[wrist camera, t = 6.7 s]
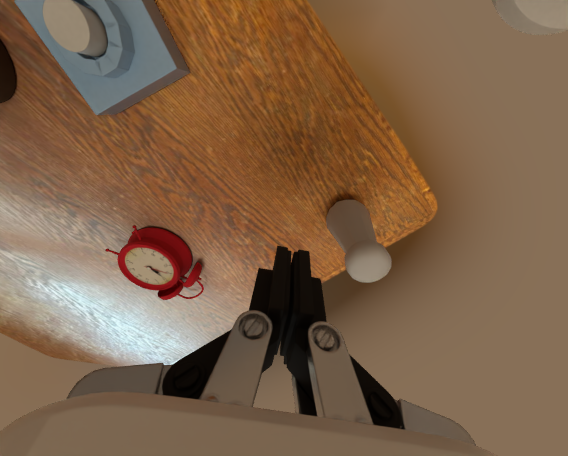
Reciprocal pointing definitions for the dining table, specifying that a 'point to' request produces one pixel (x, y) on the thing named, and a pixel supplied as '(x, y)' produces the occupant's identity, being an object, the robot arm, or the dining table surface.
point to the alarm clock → (158, 262)
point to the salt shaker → (358, 241)
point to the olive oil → (6, 75)
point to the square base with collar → (117, 53)
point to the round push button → (75, 27)
